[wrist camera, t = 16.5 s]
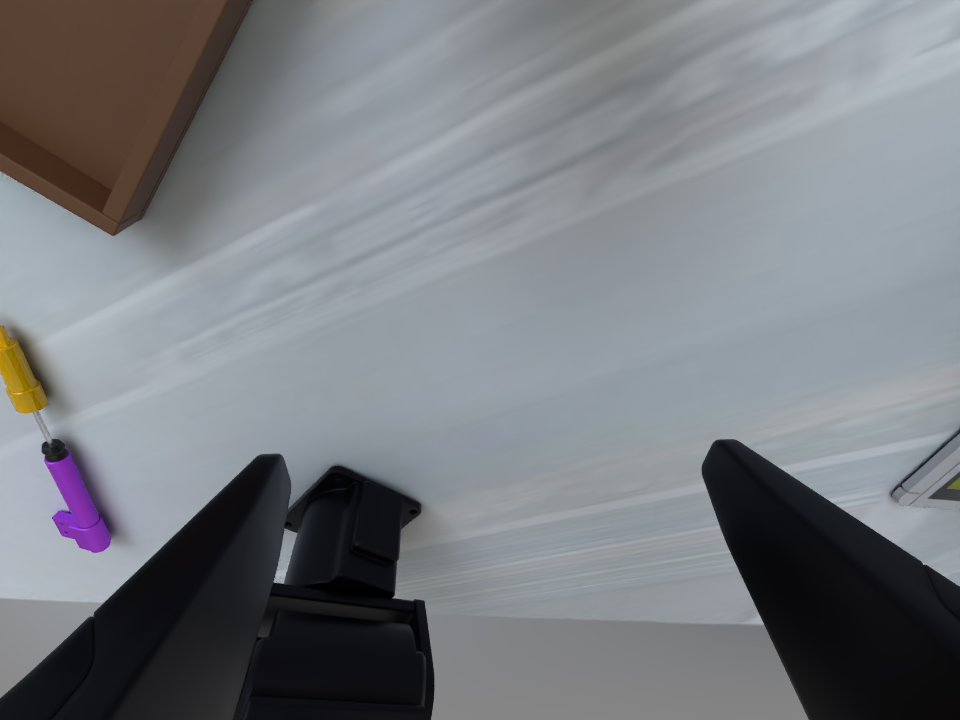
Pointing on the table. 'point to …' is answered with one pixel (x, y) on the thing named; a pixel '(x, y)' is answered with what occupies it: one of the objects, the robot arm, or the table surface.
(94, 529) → the purple piston rod
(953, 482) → the handheld gaming device
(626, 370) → the table surface
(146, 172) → the tray
